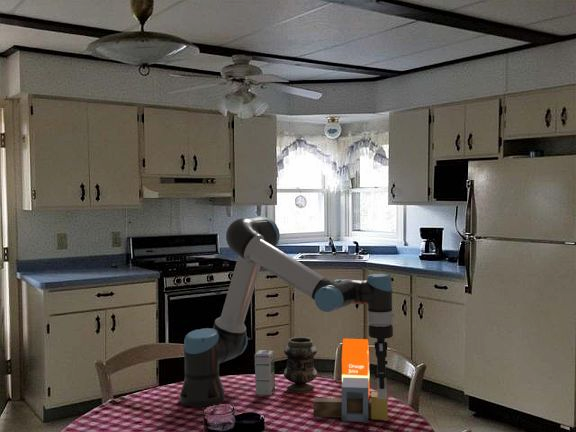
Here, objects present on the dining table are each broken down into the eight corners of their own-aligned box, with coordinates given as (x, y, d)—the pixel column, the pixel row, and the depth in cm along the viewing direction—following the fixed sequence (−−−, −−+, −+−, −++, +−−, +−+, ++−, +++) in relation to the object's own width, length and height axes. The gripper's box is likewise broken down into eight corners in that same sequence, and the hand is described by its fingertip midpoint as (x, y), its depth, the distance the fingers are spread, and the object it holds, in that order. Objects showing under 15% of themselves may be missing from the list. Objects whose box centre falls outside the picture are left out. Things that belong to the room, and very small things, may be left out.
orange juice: (344, 392, 217) (343, 335, 217) (369, 393, 216) (369, 336, 215) (341, 399, 210) (341, 341, 209) (368, 401, 208) (367, 342, 207)
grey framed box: (341, 420, 190) (341, 387, 190) (343, 409, 200) (343, 377, 199) (368, 421, 189) (367, 387, 188) (368, 410, 199) (368, 378, 198)
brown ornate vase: (318, 394, 215) (317, 343, 215) (283, 394, 216) (282, 343, 215) (316, 383, 227) (316, 335, 227) (284, 384, 228) (283, 335, 227)
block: (371, 419, 191) (371, 396, 191) (371, 413, 196) (371, 391, 196) (387, 419, 191) (387, 397, 190) (387, 413, 196) (387, 392, 195)
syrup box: (271, 395, 215) (270, 354, 214) (255, 394, 216) (254, 353, 216) (275, 390, 220) (274, 350, 220) (259, 389, 222) (258, 349, 221)
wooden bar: (313, 417, 194) (313, 401, 194) (314, 413, 198) (314, 397, 198) (371, 418, 192) (371, 402, 192) (371, 414, 196) (370, 399, 195)
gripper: (393, 332, 179) (395, 405, 180) (391, 316, 204) (393, 380, 205) (367, 332, 180) (369, 404, 181) (368, 316, 205) (370, 379, 206)
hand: (382, 391), depth 193 cm, fingers open, 13 cm apart
